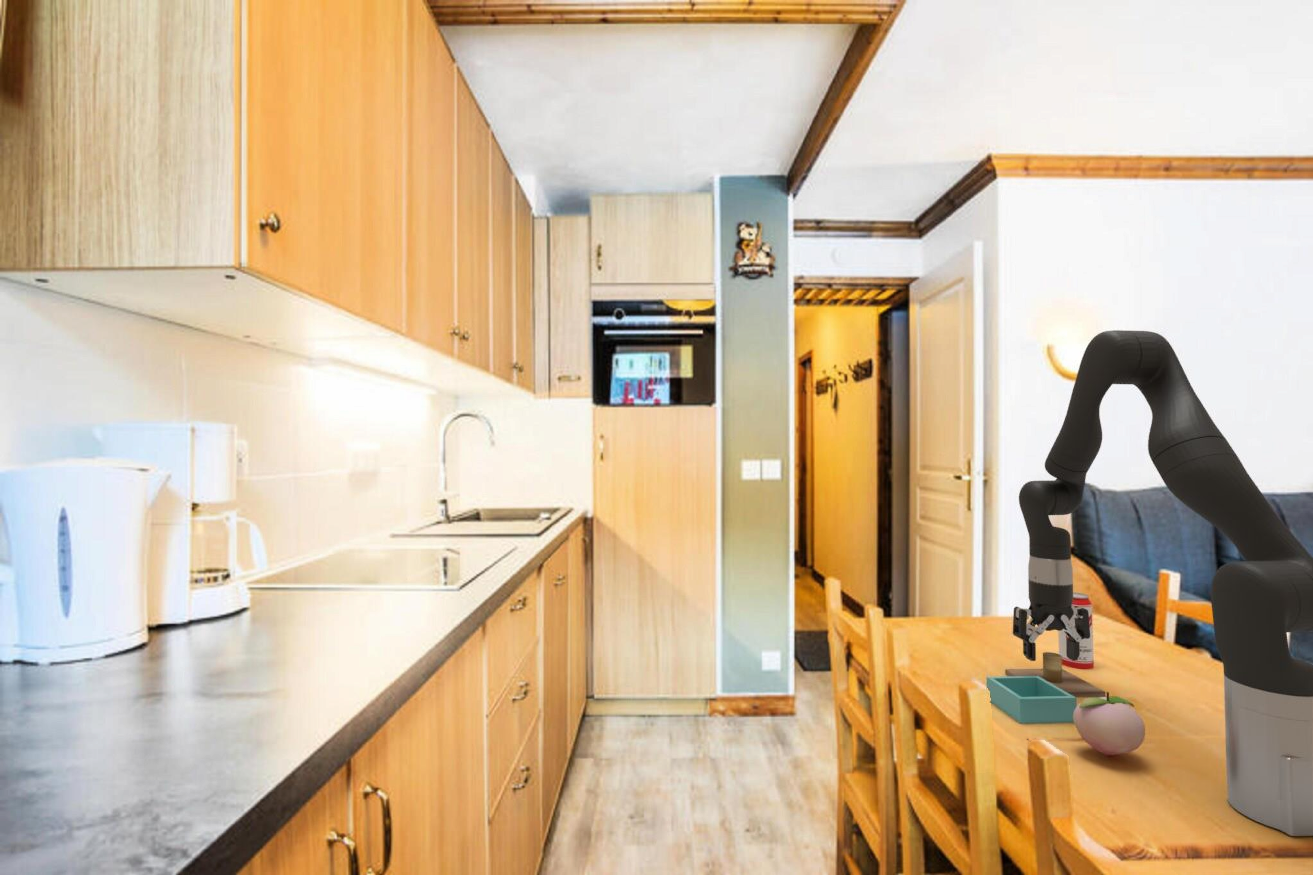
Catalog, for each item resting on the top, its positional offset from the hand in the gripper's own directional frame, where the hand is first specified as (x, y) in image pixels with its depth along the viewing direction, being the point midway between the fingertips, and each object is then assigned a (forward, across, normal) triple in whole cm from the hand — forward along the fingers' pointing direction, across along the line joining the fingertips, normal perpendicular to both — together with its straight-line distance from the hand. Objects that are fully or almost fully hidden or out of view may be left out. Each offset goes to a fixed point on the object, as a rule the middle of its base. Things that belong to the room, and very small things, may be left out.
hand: (1051, 659), depth 119 cm
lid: (+5, 0, 0) cm, 5 cm away
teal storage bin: (+6, -12, -11) cm, 17 cm away
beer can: (+6, +13, +11) cm, 18 cm away
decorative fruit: (+6, -9, -26) cm, 28 cm away
